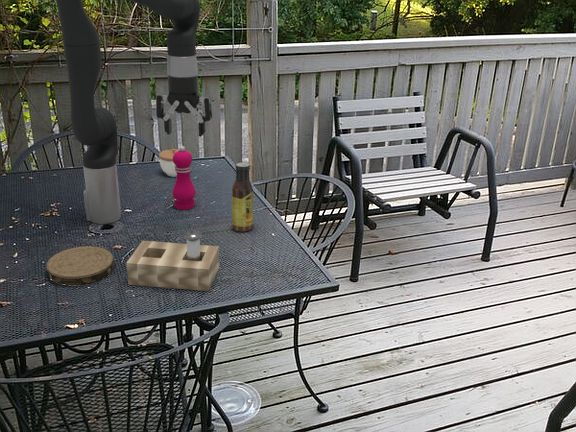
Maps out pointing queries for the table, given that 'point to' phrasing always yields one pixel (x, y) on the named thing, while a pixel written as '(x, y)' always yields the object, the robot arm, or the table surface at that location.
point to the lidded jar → (168, 162)
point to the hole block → (172, 266)
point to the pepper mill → (183, 180)
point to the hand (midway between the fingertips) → (185, 134)
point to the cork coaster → (80, 265)
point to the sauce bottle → (242, 199)
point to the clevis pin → (193, 244)
